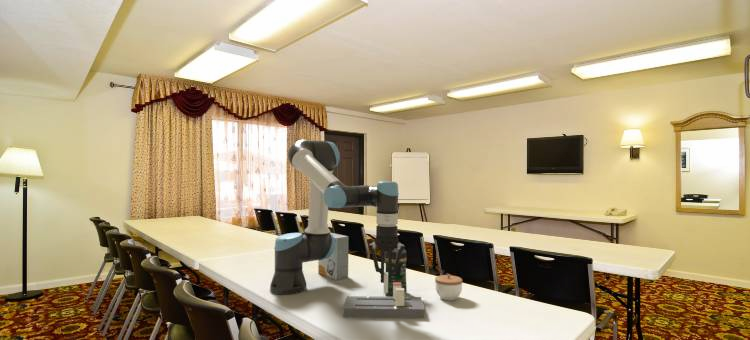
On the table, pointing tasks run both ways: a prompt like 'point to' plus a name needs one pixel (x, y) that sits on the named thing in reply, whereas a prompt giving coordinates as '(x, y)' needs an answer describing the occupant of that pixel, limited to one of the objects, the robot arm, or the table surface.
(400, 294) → the fader front
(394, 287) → the block
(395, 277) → the coffee jar
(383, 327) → the table surface
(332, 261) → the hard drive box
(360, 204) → the robot arm
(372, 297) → the console
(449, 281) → the lidded jar
